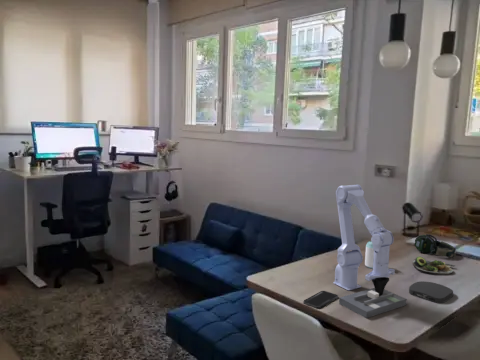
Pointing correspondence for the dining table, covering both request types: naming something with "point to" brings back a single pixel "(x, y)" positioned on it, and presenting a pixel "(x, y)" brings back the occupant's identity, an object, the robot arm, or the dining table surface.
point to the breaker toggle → (372, 294)
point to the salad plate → (431, 266)
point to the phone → (320, 299)
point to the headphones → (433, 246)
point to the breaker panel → (372, 303)
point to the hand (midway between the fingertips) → (378, 294)
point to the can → (369, 255)
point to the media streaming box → (431, 291)
